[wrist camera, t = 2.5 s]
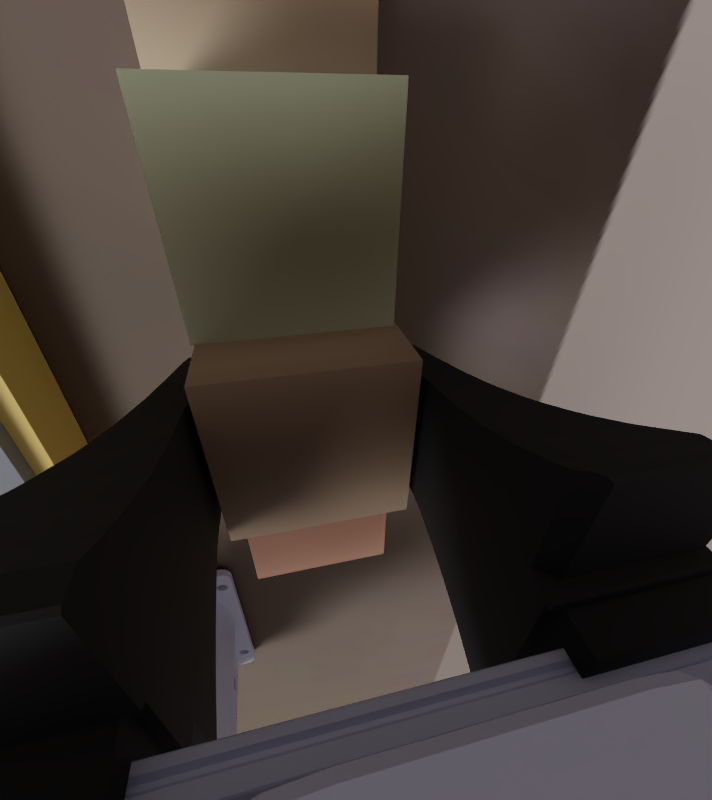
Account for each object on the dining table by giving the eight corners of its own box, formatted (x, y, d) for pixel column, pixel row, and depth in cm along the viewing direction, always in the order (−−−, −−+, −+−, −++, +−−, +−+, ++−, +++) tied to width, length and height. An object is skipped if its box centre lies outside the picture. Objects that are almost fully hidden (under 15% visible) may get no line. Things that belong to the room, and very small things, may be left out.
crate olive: (352, 269, 11) (393, 325, 8) (208, 279, 11) (190, 345, 7) (351, 93, 9) (408, 75, 6) (167, 90, 8) (115, 68, 5)
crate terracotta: (356, 467, 16) (383, 553, 13) (256, 483, 15) (258, 579, 12) (356, 385, 14) (389, 464, 10) (238, 399, 13) (234, 489, 10)
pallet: (359, 489, 19) (405, 641, 13) (253, 507, 18) (255, 678, 12) (362, -76, 9) (575, -459, 3) (115, -99, 8) (-251, -706, 2)
